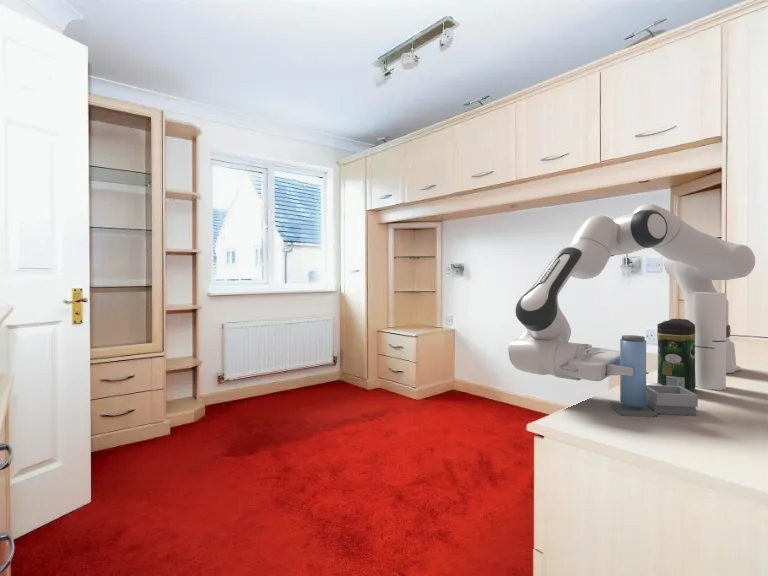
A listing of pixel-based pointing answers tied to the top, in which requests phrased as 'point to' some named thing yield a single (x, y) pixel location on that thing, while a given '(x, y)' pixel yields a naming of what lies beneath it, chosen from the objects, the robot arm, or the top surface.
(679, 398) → the frame
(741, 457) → the top surface
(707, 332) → the cylindrical container
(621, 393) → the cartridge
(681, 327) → the coffee jar
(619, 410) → the mat
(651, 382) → the white rounded piece
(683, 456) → the top surface
